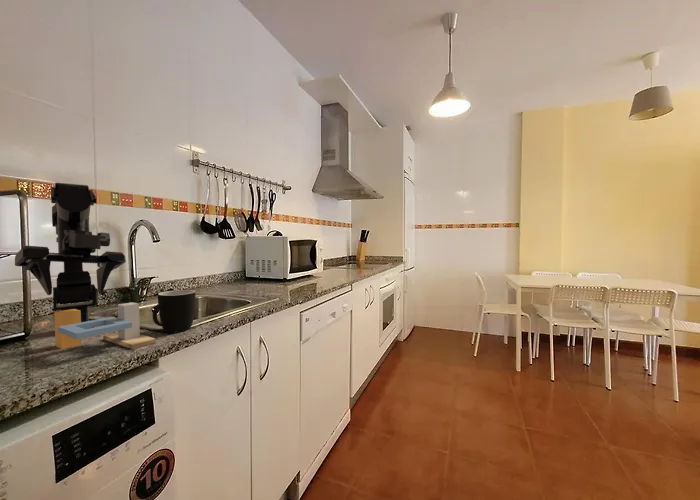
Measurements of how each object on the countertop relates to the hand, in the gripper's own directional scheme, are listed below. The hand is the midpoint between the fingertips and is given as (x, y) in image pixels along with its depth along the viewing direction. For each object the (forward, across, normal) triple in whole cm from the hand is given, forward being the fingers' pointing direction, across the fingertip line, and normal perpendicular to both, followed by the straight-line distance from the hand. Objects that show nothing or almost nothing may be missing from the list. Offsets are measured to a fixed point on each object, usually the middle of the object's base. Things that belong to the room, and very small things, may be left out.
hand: (76, 293), depth 71 cm
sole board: (+12, +9, -1) cm, 16 cm away
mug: (+12, +20, -2) cm, 23 cm away
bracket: (+12, +4, -1) cm, 13 cm away
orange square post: (+10, +1, +8) cm, 13 cm away
